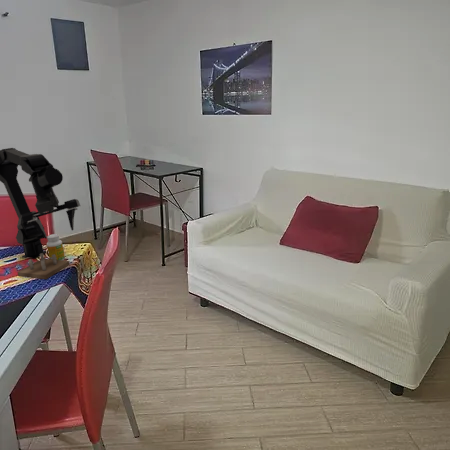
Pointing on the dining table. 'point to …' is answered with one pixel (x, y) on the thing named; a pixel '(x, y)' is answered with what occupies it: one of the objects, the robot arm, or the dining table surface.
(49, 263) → the peg cradle
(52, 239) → the supplement bottle
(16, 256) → the dining table surface
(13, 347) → the dining table surface
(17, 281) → the dining table surface
